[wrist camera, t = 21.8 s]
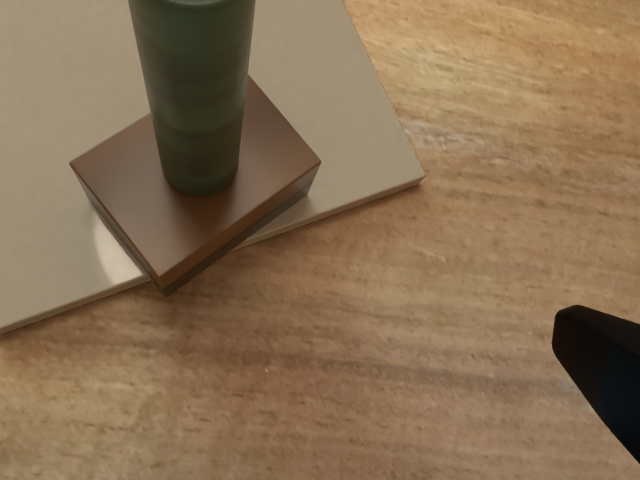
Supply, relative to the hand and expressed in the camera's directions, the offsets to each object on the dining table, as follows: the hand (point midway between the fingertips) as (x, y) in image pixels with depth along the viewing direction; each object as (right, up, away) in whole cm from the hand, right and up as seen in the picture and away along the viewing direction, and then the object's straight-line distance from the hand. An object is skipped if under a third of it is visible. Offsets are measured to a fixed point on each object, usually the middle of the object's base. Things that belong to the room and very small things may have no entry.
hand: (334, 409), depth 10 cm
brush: (-5, +5, +14) cm, 15 cm away
